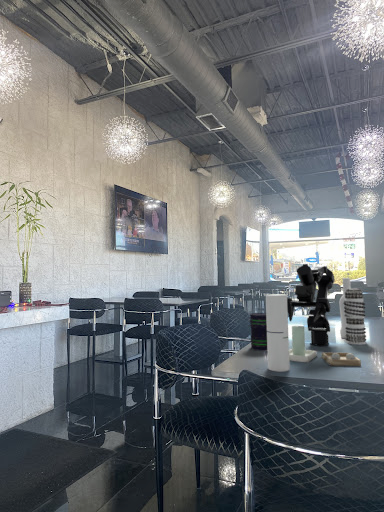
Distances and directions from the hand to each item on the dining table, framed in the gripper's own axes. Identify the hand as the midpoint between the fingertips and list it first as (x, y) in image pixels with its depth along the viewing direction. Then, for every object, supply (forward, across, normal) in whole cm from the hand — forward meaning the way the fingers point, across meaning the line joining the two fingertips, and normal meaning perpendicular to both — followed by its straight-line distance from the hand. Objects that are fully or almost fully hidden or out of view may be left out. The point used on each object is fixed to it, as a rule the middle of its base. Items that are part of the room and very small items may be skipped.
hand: (301, 321), depth 137 cm
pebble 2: (+12, +18, +6) cm, 23 cm away
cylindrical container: (+26, -1, -7) cm, 27 cm away
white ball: (+14, +14, +4) cm, 20 cm away
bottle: (-26, +8, +46) cm, 53 cm away
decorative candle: (-17, +13, +37) cm, 43 cm away
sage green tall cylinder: (+12, 0, +6) cm, 13 cm away
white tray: (+12, 0, +7) cm, 14 cm away
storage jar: (+5, -20, +14) cm, 25 cm away
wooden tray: (+12, +14, +8) cm, 20 cm away
